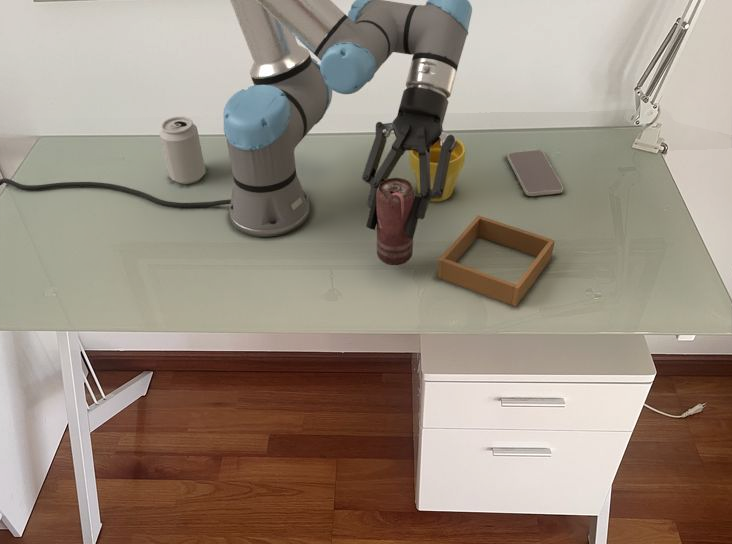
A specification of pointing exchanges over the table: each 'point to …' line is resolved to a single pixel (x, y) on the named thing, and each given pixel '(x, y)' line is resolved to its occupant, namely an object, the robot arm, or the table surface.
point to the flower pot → (453, 168)
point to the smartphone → (534, 173)
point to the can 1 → (182, 150)
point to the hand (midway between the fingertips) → (389, 232)
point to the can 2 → (394, 220)
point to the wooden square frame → (487, 282)
